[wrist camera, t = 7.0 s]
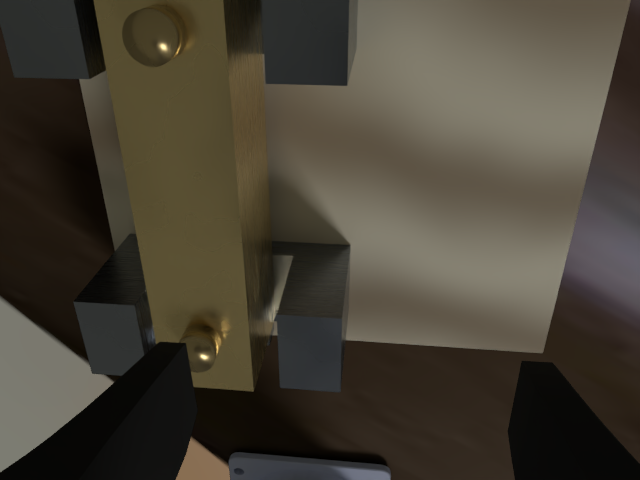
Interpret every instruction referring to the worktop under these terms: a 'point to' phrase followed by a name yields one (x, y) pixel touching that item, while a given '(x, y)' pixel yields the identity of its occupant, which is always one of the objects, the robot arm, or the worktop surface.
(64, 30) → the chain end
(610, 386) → the worktop surface
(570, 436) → the robot arm
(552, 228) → the jig board
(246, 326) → the master link
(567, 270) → the worktop surface
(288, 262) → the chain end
